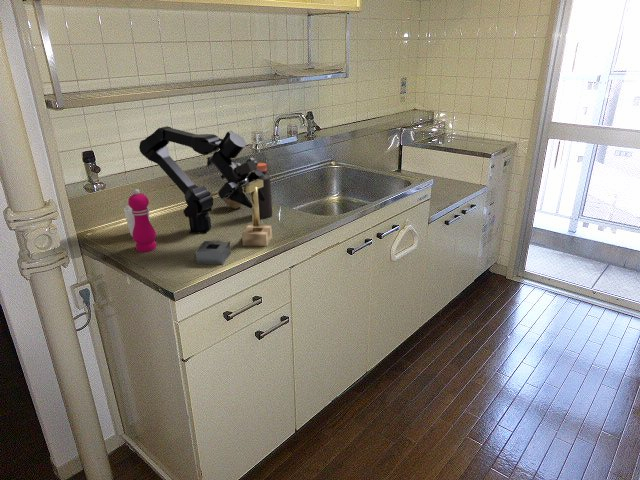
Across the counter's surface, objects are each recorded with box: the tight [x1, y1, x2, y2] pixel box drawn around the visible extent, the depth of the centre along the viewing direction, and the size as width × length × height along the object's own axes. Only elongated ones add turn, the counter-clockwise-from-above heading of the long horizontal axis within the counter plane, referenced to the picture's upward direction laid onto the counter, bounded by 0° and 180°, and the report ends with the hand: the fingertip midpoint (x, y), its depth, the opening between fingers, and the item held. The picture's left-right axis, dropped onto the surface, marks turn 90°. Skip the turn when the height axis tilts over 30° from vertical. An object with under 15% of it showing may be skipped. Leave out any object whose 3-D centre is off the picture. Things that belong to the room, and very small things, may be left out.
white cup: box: [123, 205, 151, 238], centre depth 164 cm, size 8×8×10 cm
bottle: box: [253, 162, 273, 219], centre depth 177 cm, size 7×7×20 cm
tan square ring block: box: [241, 224, 273, 247], centre depth 157 cm, size 8×8×4 cm
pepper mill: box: [127, 188, 157, 253], centre depth 150 cm, size 7×7×20 cm
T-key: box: [242, 179, 263, 227], centre depth 153 cm, size 8×2×15 cm, turn 154°
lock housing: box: [195, 240, 232, 265], centre depth 144 cm, size 8×8×4 cm
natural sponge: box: [222, 190, 246, 209], centre depth 188 cm, size 9×9×10 cm
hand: (258, 203), depth 152 cm, fingers closed on T-key, 7 cm apart
